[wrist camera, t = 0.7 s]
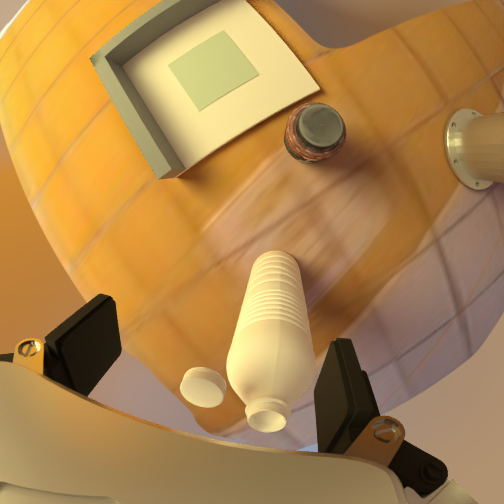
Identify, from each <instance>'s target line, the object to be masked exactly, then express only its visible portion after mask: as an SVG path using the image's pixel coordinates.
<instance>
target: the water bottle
mask: <svg viewBox="0 0 504 504" xmlns="http://www.w3.org/2000/svg"><path fill="white" fill-rule="evenodd" d="M315 369H316V362H315V355H314V350H313V346H312V339H311V332H310V326H309V321H308V315H307V307H306V302H305V296H304V291H303V285H302V280H301V275H300V269H299V266H298V264H297V262H296V260H295V259H294V258H293V257H292V256H291V255H289V254H287V253H285V252H282V251H269V252H266V253H264V254H263V255H261V256H260V257H259V258H258V259H257V260H256V261H255V263H254V265H253V268H252V271H251V275H250V279H249V282H248V286H247V290H246V294H245V297H244V301H243V304H242V308H241V313H240V316H239V320H238V323H237V327H236V331H235V334H234V338H233V341H232V345H231V348H230V350H229V354H228V358H227V375H228V379H229V382H230V384H231V386H232V388H233V389H234V391H235V392H236V393H237V395H238V396H239V397H240V398H241V399H242V401H243V402H244V403H245V404H246V405H247V406H246V409H245V412H246V415H247V416H248V423H249V425H250V426H251V427H252V428H254V429H255V430H258V431H261V432H275V431H278V430H280V429H282V428H283V427H284V426H285V425H286V424H287V418H288V417H289V416H290V414H291V409H290V407H291V406H292V405H293V404H294V403H296V402H297V401H298V400H299V399H300V398H301V397H302V396H303V395H304V394H305V393H306V391H307V390H308V389H309V387H310V385H311V383H312V381H313V378H314V375H315ZM195 370H196V371H195ZM198 370H202V371H198ZM209 372H210V373H209ZM215 375H216V376H215ZM218 377H219V378H220V379H219V378H218ZM180 390H181V393H182V395H183V396H184V397H185V399H187V400H188V401H189V402H191V403H192V404H194V405H197V406H200V407H207V408H209V407H215V406H217V405H219V404H221V403H222V401H223V399H224V395H225V392H226V382H225V380H224V378H223V377H222V376H221V375H220V374H219V373H217V372H216V371H214V370H212V369H209V368H205V367H195V368H192V369H190V370H188V371H187V372H186V374H185V376H184V378H183V380H182V382H181V385H180Z"/></svg>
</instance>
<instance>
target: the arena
mask: <svg viewBox="0 0 504 504" xmlns="http://www.w3.org/2000/svg"><path fill="white" fill-rule="evenodd" d="M90 60H91V62H92V64H93V66H94V68H95V70H96V72H97V74H98V75H99V77H100V79H101V81H102V83H103V85H104V87H105V88H106V90H107V92H108V94H109V96H110V98H111V99H112V101H113V103H114V105H115V107H116V108H117V110H118V112H119V114H120V115H121V117H122V119H123V121H124V122H125V124H126V126H127V128H128V129H129V131H130V133H131V135H132V136H133V138H134V140H135V141H136V143H137V145H138V147H139V148H140V150H141V152H142V153H143V155H144V157H145V158H146V160H147V162H148V163H149V165H150V167H151V168H152V170H153V172H154V173H155V175H156V177H157V178H158V179H167V178H177V177H178V176H180V175H181V174H182V173H184V172H185V171H187V170H188V169H189V168H191V167H192V166H194V165H195V164H196V163H198V162H199V161H201V160H202V159H204V158H205V157H207V156H208V155H210V154H211V153H213V152H214V151H216V150H217V149H219V148H220V147H222V146H223V145H225V144H226V143H228V142H229V141H231V140H233V139H234V138H236V137H237V136H239V135H241V134H242V133H244V132H245V131H247V130H249V129H250V128H252V127H254V126H255V125H257V124H259V123H261V122H262V121H264V120H266V119H267V118H269V117H271V116H273V115H274V114H276V113H278V112H280V111H282V110H283V109H285V108H287V107H289V106H291V105H293V104H294V103H296V102H298V101H300V100H302V99H304V98H306V97H308V96H310V95H312V94H314V93H316V92H318V91H319V90H320V88H319V86H318V85H317V84H316V82H315V81H314V80H313V78H312V77H311V75H310V74H309V73H308V71H307V70H306V69H305V67H304V66H303V65H302V64H301V62H300V61H299V60H298V58H297V57H296V56H295V55H294V53H293V52H292V51H291V50H290V49H289V47H288V46H287V45H286V44H285V43H284V41H283V40H282V39H281V38H280V37H279V36H278V34H277V33H276V32H275V31H274V30H273V29H272V28H271V26H270V25H269V24H268V23H267V22H266V21H265V20H264V19H263V18H262V17H261V16H260V15H259V14H258V13H257V12H256V11H255V9H254V8H253V7H252V6H251V5H250V4H249V3H248V2H247V1H246V0H163V1H162V2H160V3H159V4H157V5H156V6H154V7H153V8H151V9H150V10H148V11H147V12H145V13H144V14H143V15H141V16H140V17H138V18H137V19H136V20H134V21H133V22H132V23H130V24H129V25H128V26H126V27H125V28H124V29H123V30H121V31H120V32H119V33H118V34H116V35H115V36H114V37H113V38H112V39H111V40H109V41H108V42H107V43H106V44H105V45H104V46H103V47H101V48H100V49H99V50H98V51H97V52H96V53H95V54H94V55H93V56H92V57H91V58H90Z"/></svg>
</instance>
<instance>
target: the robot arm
mask: <svg viewBox="0 0 504 504" xmlns="http://www.w3.org/2000/svg"><path fill="white" fill-rule="evenodd" d="M444 143H445V151H446V155H447V159H448V162H449V165H450V167H451V169H452V171H453V173H454V174H455V176H456V177H457V178H458V180H459V181H460V182H461V183H462V184H464V185H465V186H467V187H469V188H471V189H476V190H483V189H486V188H488V187H489V186H490V185H492V183H493V182H498V183H504V112H501V113H494V114H489V115H482V114H481V113H479V112H477V111H476V110H473V109H461V110H458V111H456V112H454V113H453V114H452V115H451V117H450V118H449V120H448V122H447V125H446V128H445V134H444ZM45 340H46V343H45V344H43V343H42V341H40V340H39V339H36V338H28V339H24V340H22V341H21V342H19V343H18V344H17V346H16V347H15V351H14V353H10V354H1V355H0V504H478V503H477V502H476V501H475V500H474V499H473V498H472V497H471V496H470V495H469V494H468V493H466V491H465V490H464V489H462V488H461V487H460V486H459V485H458V484H457V483H456V482H455V481H454V480H451V481H449V480H448V479H447V477H448V470H447V467H446V465H445V464H444V463H443V462H442V461H441V460H439V459H437V458H435V457H434V456H432V455H430V454H428V453H426V452H424V451H422V450H421V449H419V448H417V447H415V446H414V445H412V444H410V443H409V442H407V441H405V440H404V437H405V429H404V427H403V425H402V424H401V423H400V422H399V421H398V420H396V419H395V418H392V417H390V416H380V413H379V410H378V406H377V403H376V400H375V397H374V394H373V391H372V388H371V385H370V381H369V378H368V376H367V373H366V371H364V370H361V367H360V364H359V361H358V358H357V355H356V352H355V349H354V346H353V344H352V341H351V339H345V338H337V339H336V340H335V341H331V343H330V346H329V349H328V352H327V355H326V358H325V361H324V364H323V367H322V369H321V372H320V375H319V378H318V380H317V383H316V386H315V389H314V401H315V413H316V426H317V440H318V452H308V451H307V452H306V451H294V450H283V449H274V448H266V447H258V446H251V445H244V444H238V443H232V442H226V441H222V440H216V439H212V438H207V437H203V436H199V435H195V434H191V433H186V432H183V431H179V430H176V429H171V428H168V427H165V426H162V425H159V424H155V423H152V422H149V421H146V420H143V419H140V418H138V417H135V416H132V415H129V414H126V413H124V412H121V411H119V410H116V409H114V408H111V407H109V406H106V405H104V404H102V403H99V402H97V401H95V400H93V399H90V398H88V397H87V396H88V395H89V394H90V392H91V391H92V390H93V389H94V387H95V386H96V385H97V383H98V382H99V381H100V380H101V378H102V377H103V376H104V375H105V373H106V372H107V371H108V369H109V368H110V367H111V366H112V364H113V363H114V362H115V361H116V359H117V358H118V357H119V356H120V354H121V350H122V347H121V341H120V334H119V327H118V320H117V311H116V303H115V301H114V300H113V298H112V297H111V296H108V295H104V294H98V295H97V296H96V297H94V298H93V299H92V300H90V301H89V302H88V303H87V304H85V305H84V306H83V307H81V308H80V309H79V310H78V311H76V312H75V313H74V314H73V315H72V316H70V317H69V318H68V319H66V320H65V321H64V322H63V323H61V324H60V325H59V326H58V327H57V328H55V329H54V330H53V331H52V332H50V333H49V334H48V335H47V336H46V337H45Z"/></svg>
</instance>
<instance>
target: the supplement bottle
mask: <svg viewBox="0 0 504 504" xmlns="http://www.w3.org/2000/svg"><path fill="white" fill-rule="evenodd" d="M345 139H346V128H345V124H344V121H343V119H342V118H341V116H340V115H339V113H338V112H337V111H336V110H335V109H333V108H332V107H330V106H329V105H326V104H323V103H319V102H309V103H305V104H303V105H300V106H299V107H297V108H296V109H295V110H294V111H293V112H292V113H291V115H290V116H289V118H288V121H287V126H286V130H285V136H284V142H285V146H286V149H287V150H288V152H289V153H290V154H291V156H293V157H294V158H295V159H297V160H299V161H302V162H307V163H312V162H317V161H320V160H324V159H327V158H329V157H331V156H333V155H335V154H336V153H337V152H339V150H340V149H341V148H342V146H343V144H344V142H345Z"/></svg>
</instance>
